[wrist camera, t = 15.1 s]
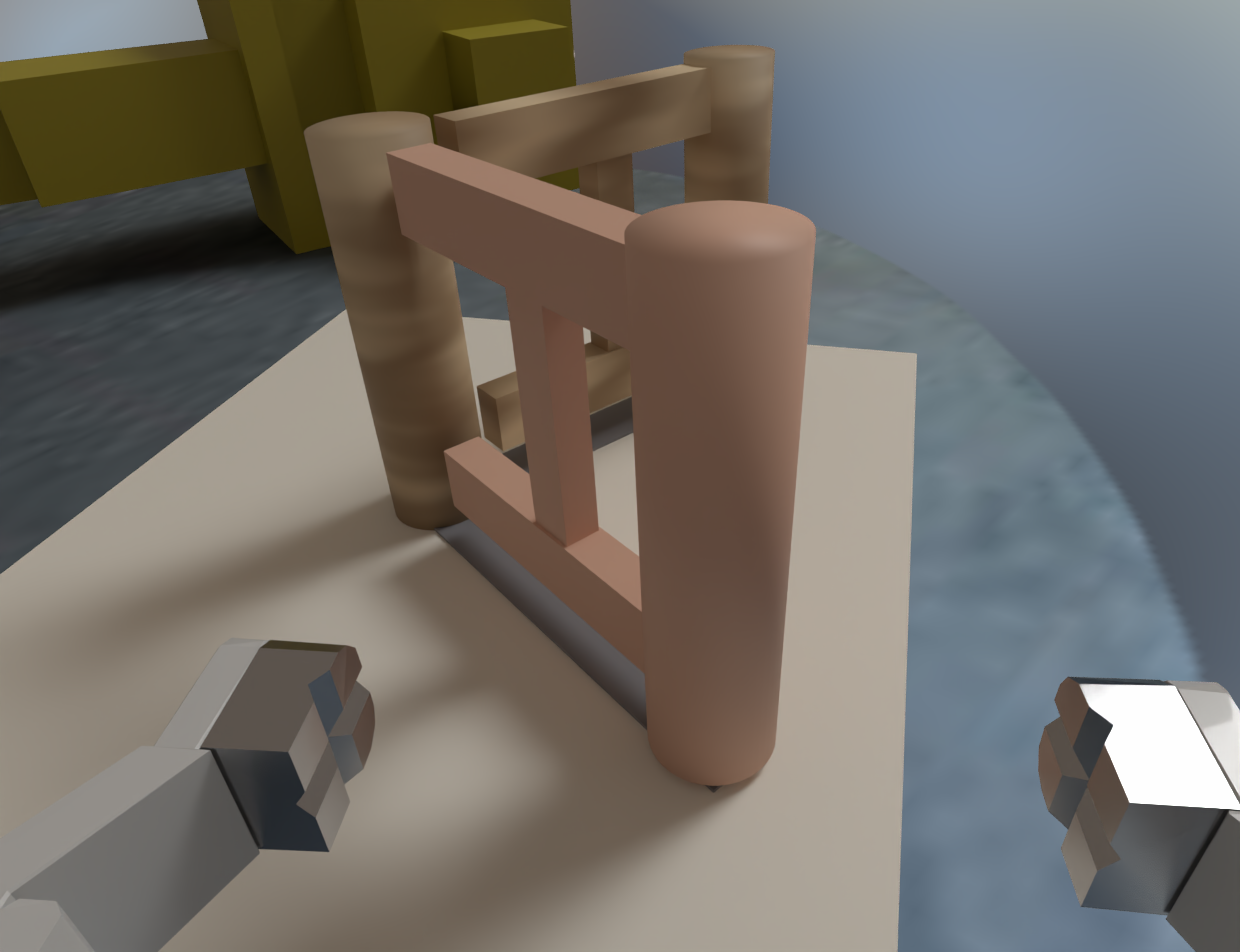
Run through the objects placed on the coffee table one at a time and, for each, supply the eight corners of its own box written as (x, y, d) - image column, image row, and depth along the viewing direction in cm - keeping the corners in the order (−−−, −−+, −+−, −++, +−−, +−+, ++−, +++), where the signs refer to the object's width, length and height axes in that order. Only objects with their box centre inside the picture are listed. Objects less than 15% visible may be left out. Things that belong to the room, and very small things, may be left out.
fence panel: (433, 543, 27) (346, 138, 20) (515, 504, 28) (459, 114, 22) (708, 810, 19) (716, 281, 12) (802, 736, 20) (856, 228, 14)
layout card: (883, 1263, 13) (888, 1249, 13) (-330, 850, 20) (-347, 835, 20) (915, 364, 37) (917, 351, 36) (349, 317, 44) (347, 306, 43)
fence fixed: (423, 543, 28) (335, 148, 21) (378, 499, 30) (284, 127, 23) (777, 375, 35) (796, 50, 29) (721, 350, 38) (727, 42, 31)
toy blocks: (516, -90, 59) (654, -92, 47) (540, 157, 68) (660, 205, 56) (-106, -45, 44) (-124, -31, 32) (31, 264, 53) (55, 360, 41)
